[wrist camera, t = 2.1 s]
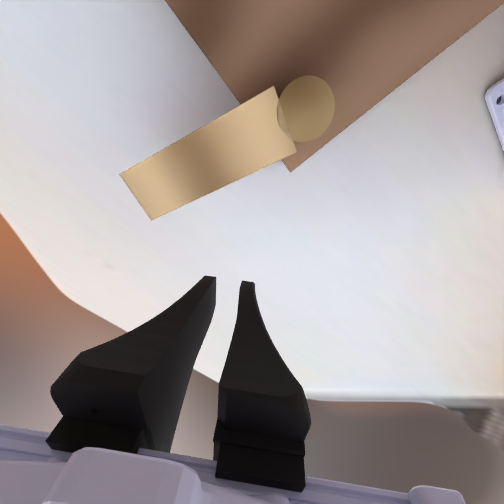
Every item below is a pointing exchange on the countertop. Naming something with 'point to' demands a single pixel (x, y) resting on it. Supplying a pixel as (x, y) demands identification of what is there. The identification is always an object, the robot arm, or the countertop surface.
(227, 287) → the countertop surface
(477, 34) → the countertop surface
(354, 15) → the stool seat
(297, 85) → the oak leg
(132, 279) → the countertop surface
